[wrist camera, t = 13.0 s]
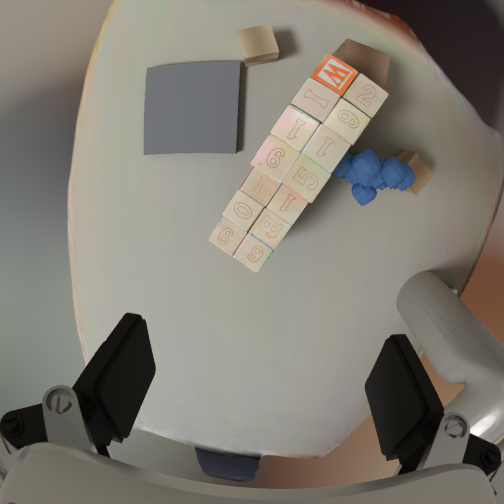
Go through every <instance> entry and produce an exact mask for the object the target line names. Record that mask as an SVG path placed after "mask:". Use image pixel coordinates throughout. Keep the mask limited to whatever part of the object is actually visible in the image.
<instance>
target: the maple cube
mask: <svg viewBox="0 0 504 504" xmlns="http://www.w3.org/2000/svg"><path fill="white" fill-rule="evenodd" d="M236 33H237V37H238V41H239V45H240V48H241V52H242V55H243V59H244V62H245V66H246V67H249V66H254V65H259V64H264V63H269V62H275V61H277V60H278V55H279V49H278V46H277V43H276V40H275V37H274V34H273V30H272V27H271V25H265V26H259V27H253V28H248V29H243V30H238V31H236Z"/></svg>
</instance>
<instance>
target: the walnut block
mask: <svg viewBox="0 0 504 504" xmlns="http://www.w3.org/2000/svg"><path fill="white" fill-rule="evenodd" d="M333 56H334V57H336V58H338V59H339V60H341V61H343V62H344V63H346V64H347V65H349V66H351V67H352V68H354V69H355V70H356V71H358V73H359V74H363V75H364V76H366V77H367V78H368V79H370V80H371V81H372V82H374V83H375V84H377V85H378V86H379V87H381V88H382V89H383V90H384V91H385V88H386V82H387V76H388V69H389V63H390V56H389V55H387V54H384V53H382V52H380V51H378V50H375V49H373V48H371V47H368V46H366V45H363V44H361V43H358V42H355V41H353V40H350V39H346V40H345V42H344V43H343V44H342V45H341V46H340V47H339V48H338V49H337V50H336V51H335V52H334V53H333Z"/></svg>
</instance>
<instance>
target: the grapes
mask: <svg viewBox="0 0 504 504" xmlns="http://www.w3.org/2000/svg"><path fill="white" fill-rule="evenodd" d="M332 173H333V174H334V175H335V176H336V177H337V178H339V177H341V176H343V178H344V179H345V180H346V181H347V183H348V182H350V183H352V184H354V185H353V186H352V195H353V196H354V197H355V199H356V200H357V201H358V203H359V204H360V205H361V206H363V205H365V204H367V203H369V202H370V201H372V200H373V199H374V198H375V197H376V194H377V191H376V189H378V188H379V189H381V190H383V189H384V188H386V187H387V186H388V187H389V188H390V189H392V188H394V189H396V188H399V189H400V191H403V190H405V189H407V188H408V187H410V186H411V185H413V183H414V181H415V178H416V177H415V174H414V172H413V170H412V169H411V167H410V166H409V165H408V164H407V163H406V161H405V162H403V163H401V162H400V161H399V160H398V159H397V158H396V156H394V157H392V158H390V159H388V160H385V161H383V160H382V159H381V158H379V157H378V155H377V154H376V153H375V152H374V150H373V149H372V148H371V147H369V148H367V149H365V150H363V151H361V152H360V153H359V154H358V153H356V154H354V155H353V154H352V153H349V152H348V151H347V152H346V153H345V155H344V156H343V158H342V159H341V161H340V162H339V163H338V165H337V166H336V168H335V169H334V170H333V172H332Z"/></svg>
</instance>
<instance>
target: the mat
mask: <svg viewBox="0 0 504 504" xmlns="http://www.w3.org/2000/svg"><path fill="white" fill-rule="evenodd" d="M240 72H241V62H240V61H217V62H197V63H184V64H174V65H165V66H158V67H151V68H147V76H146V90H145V109H144V155H148V154H169V153H237V133H238V110H239V90H240Z"/></svg>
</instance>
